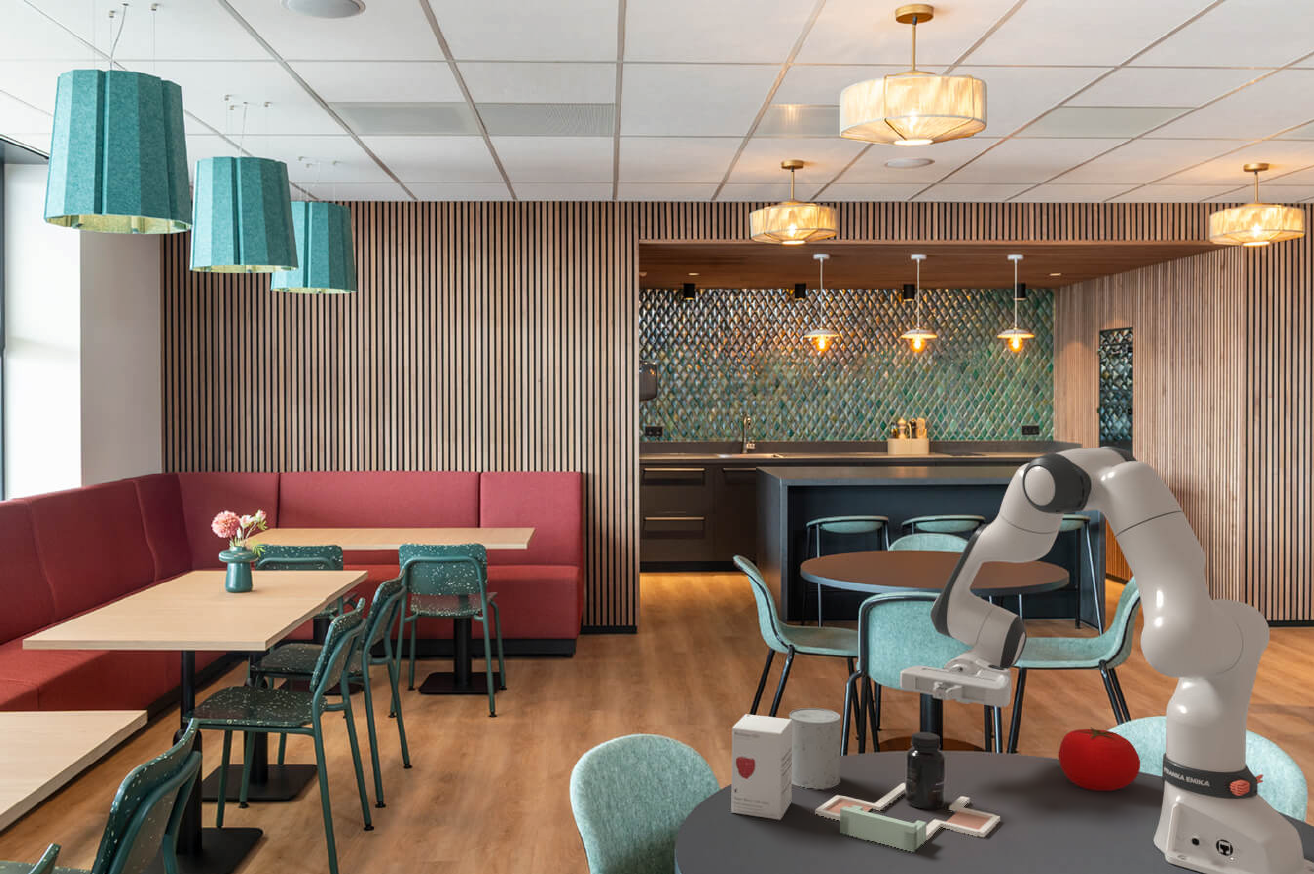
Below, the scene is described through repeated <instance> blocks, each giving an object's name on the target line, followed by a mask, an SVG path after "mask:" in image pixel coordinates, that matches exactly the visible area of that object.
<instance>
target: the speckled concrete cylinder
mask: <svg viewBox="0 0 1314 874" xmlns="http://www.w3.org/2000/svg"><path fill="white" fill-rule="evenodd" d="M788 716H789V719H792V720H793V729H792V785H794V786H796V785H797V786H796V787H798V786H801V787H800V788H802V787H805V788H804V789H807V788H814V789H813V790H818V789H821V790H825V789H824V788H830V787H834V786H836V785H838V784H839V783H841V718H842V717H841V715H840V714H839V712H836V711H833V710H830V709H827V708H826V709H825V708H816V707H814V708H813V707H808V708H798V709H794V710H792V711H791V712H789V715H788ZM839 785H840V784H839ZM839 785H838V786H839ZM836 787H837V786H836ZM834 788H835V787H834ZM830 789H831V788H830Z"/></svg>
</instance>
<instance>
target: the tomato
mask: <svg viewBox="0 0 1314 874" xmlns="http://www.w3.org/2000/svg"><path fill="white" fill-rule="evenodd" d="M1058 760H1059V761H1058V762H1059V766H1060V768H1061V769H1062V771H1063V774H1064V775H1065V776H1066V778H1067V779H1068V780H1069V781H1071V783H1074V784H1075V785H1077V786H1078V787H1081V788H1083V789H1085V790H1092V791H1098V792H1100V791H1101V792H1105V791H1106V792H1108V791H1109V792H1110V791H1117V790H1118V789H1123V788H1125V787H1126V786H1128V785H1129V784H1131V783H1132V782H1133V781H1134V780H1135V779H1136V778H1137V777H1138V774H1139V772H1140V769H1141V760H1140V757H1139V754H1138V752H1137V750H1136V748H1135V746H1134V744H1132V743H1131V742H1130V740H1129V739H1127V738H1125V737H1124V736H1123V735H1121V734H1118V733H1117V732H1114V731H1111V730H1106V729H1095V728H1093V727H1090V728H1080V729H1073V730H1071V731H1069V732H1067V733H1066V734H1065V735H1064V736H1063V738H1062V740H1061V742H1060V745H1059V749H1058Z"/></svg>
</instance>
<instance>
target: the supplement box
mask: <svg viewBox="0 0 1314 874" xmlns="http://www.w3.org/2000/svg"><path fill="white" fill-rule="evenodd" d="M792 729H793V720H792V719H790V718H782V717H781V718H780V717H773V716H766V715H757V714H755V715H754V714H748V713H745V714H744V715H743V716H742V717H741V718H740V719H739V720H738V721H737V722H736V723H735V724H734V725H733V726H732V728H731V790H730V791H731V794H730V796H731V799H730V800H731V801H730V804H731V806H730V808H731V810H730V811H731V814H732V813H733V814H741V815H747V816H753V817H758V818H759V817H760V818H766V819H773V820H779V821H780V820H781V819H782V818H783V817H784V815H785V813H786V811H787V810H788V808H789V806H790V804H791V803H792V792H793V790H792V786H793V784H792Z"/></svg>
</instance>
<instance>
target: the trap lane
mask: <svg viewBox="0 0 1314 874" xmlns="http://www.w3.org/2000/svg"><path fill="white" fill-rule="evenodd" d="M902 794H903V795H905V782H902V783H900V784H899V785H898V786H896V787H895V788H894V789H892V790H891V791H889V792H888V793H887V794H885V795H884V796H883V797H881V798H880V799H878V800H877V801H875V802H869V801H866V800H863V799H858V798H857V799H856V798H854V797H849V796H845V795H839V794H837V795H835V796H833V797H832V798H831V799H829V800H827V801H826V802H824V803H823V804H822V805H820V806H818V807H817V808H815V810H814V814H815V815H816V814H818V815H817V816H819V817H821V816H824V817H823V818H825V817H826V819H829V818H831V819H830V820H833V819H835V820H834V821H837V820H839V821H838V822H840V823H839V833H840V834H841V833H842V835H845V834H846V835H845V836H848V835H849V837H852V836H853V838H856V837H857V838H856V839H861V840H864V841H867V840H870V841H869V842H871V841H875V842H877V843H876V844H879V843H881V844H880V845H882V844H885V845H884V846H886V845H889V846H888V847H890V846H892V847H891V848H894V847H896V848H895V849H897V848H899V849H898V850H901V849H903V850H902V851H905V850H907V851H906V852H909V851H911V852H910V853H912V852H913V853H915V850H916V849H917V848H918V847H919V846H920V845H921V844H922V845H924V844H925V843H926V842H927V841H928V840H929V839H930V838H932V836H934V835H935V834H936V833H937V832H938V831H939V830H940V829H941V828H940V827H943V828H946V829H945V830H947V829H950V830H949V831H951V830H953V831H952V832H955V833H960V834H964V833H965V834H964V835H968V834H969V835H968V836H972V835H973V836H972V837H978V836H979V837H978V838H982V837H983V839H984V838H985V837H986V836H987V835H988V834H989V833H990V832H991V831H992V830H993V829H994V828H995V827H996V826H997V825H998V824H999V823H1000V822H1001V816H1000V815H997V814H994V813H989V812H985V811H980V810H976V809H973V808H967V807H966V806H967V805H968V804H970V803H969V802H970V799H971V798H970V797H966V796H962V795H961V796H960V797H958V798H957V799H956V800H954V802H952V803H951V804H950V805H949V806H948V807H949V808H948V809H949V810H953V811H957V812H954V814H953V815H952V816H951V817H950V818H948V819H947V820H946V821H944V820H940V819H936V818H935V819H933V820H931V821H930V822H929V823H928V824H927V821H922V820H916V821H915V822H914V823H913V822H910V821H905V820H901V819H897V818H894V817H890V816H885V815H881V814H877V813H874V812H871V811H870V812H868V811H869V810H870V809H872V808H873V809H876V810H879V811H880V810H881V809H883V808H884V807H885V806H887V805H888V804H889V803H891V804H892V803H894V802H895V801H897V798H898V797H899V798H900V797H902V796H903V795H902ZM901 795H902V796H901ZM899 798H898V799H899ZM894 800H895V801H894ZM893 801H894V802H893ZM967 803H968V804H967ZM966 804H967V805H966ZM965 805H966V806H965ZM888 806H889V805H888ZM888 806H887V807H888ZM964 806H965V807H964ZM884 809H885V808H884ZM884 809H883V810H884ZM949 810H948V811H949ZM879 811H878V812H879ZM880 812H881V811H880ZM999 821H1000V822H999ZM998 822H999V823H998ZM997 823H998V824H997ZM996 824H997V825H996ZM939 828H940V829H939ZM943 828H942V829H943ZM938 829H939V830H938ZM937 830H938V831H937ZM936 831H937V832H936ZM935 832H936V833H935ZM934 833H935V834H934ZM933 834H934V835H933ZM926 840H927V841H926ZM925 841H926V842H925ZM875 842H874V843H875ZM924 842H925V843H924ZM922 845H921V846H922ZM921 846H920V847H921ZM920 847H919V848H920ZM919 848H918V849H919ZM918 849H917V850H918ZM917 850H916V851H917Z"/></svg>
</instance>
